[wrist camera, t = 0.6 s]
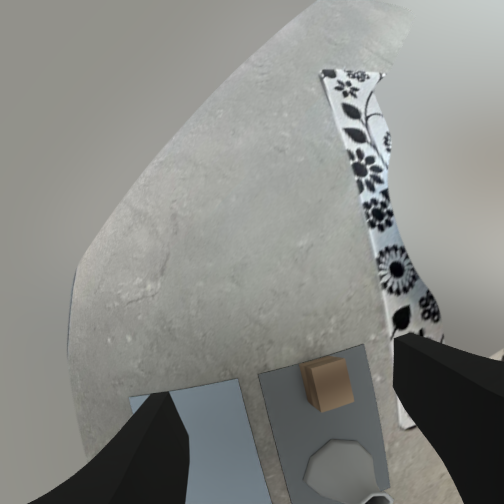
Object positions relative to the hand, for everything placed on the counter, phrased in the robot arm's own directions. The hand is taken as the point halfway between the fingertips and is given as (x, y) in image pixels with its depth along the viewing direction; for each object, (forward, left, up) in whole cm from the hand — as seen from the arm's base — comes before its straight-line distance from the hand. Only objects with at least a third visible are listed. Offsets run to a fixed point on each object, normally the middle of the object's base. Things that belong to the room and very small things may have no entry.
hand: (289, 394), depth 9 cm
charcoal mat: (-11, -6, -22) cm, 25 cm away
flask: (-14, -6, -21) cm, 26 cm away
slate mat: (-11, +7, -22) cm, 25 cm away
